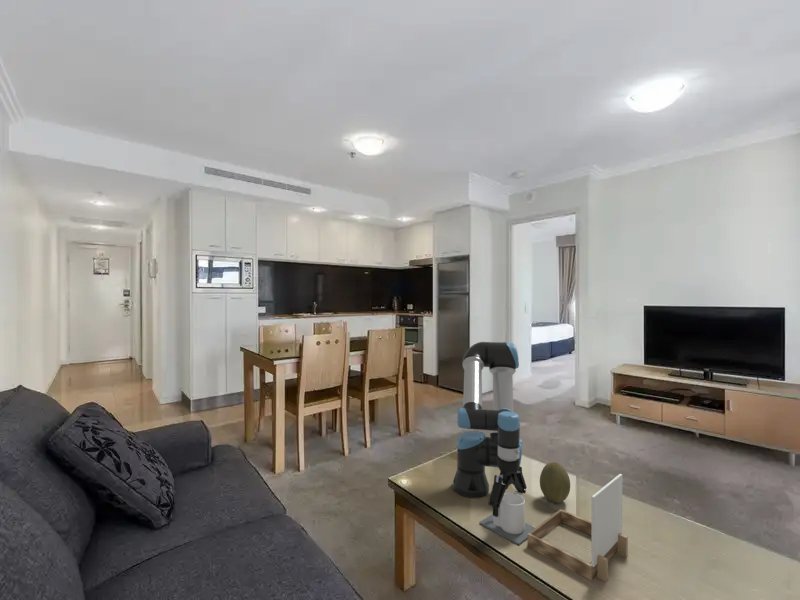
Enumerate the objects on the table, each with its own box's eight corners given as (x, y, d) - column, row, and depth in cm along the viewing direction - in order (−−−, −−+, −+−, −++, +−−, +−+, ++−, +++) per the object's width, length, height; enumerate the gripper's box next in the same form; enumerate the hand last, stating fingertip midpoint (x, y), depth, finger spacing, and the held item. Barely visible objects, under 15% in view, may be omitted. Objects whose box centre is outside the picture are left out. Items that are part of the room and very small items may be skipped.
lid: (591, 579, 110) (591, 496, 110) (619, 547, 124) (620, 473, 124) (602, 585, 107) (603, 500, 107) (630, 552, 122) (630, 476, 122)
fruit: (555, 491, 160) (555, 455, 160) (576, 504, 150) (576, 466, 150) (533, 496, 156) (533, 459, 156) (553, 510, 146) (553, 471, 146)
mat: (479, 523, 137) (479, 522, 137) (498, 511, 145) (498, 510, 145) (519, 545, 125) (519, 543, 125) (537, 530, 133) (537, 529, 133)
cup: (516, 538, 128) (516, 507, 128) (486, 522, 137) (486, 494, 137) (529, 528, 133) (529, 499, 133) (499, 514, 142) (499, 486, 142)
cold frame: (527, 546, 124) (527, 534, 124) (560, 520, 139) (560, 509, 139) (590, 580, 109) (590, 566, 109) (620, 546, 124) (620, 534, 124)
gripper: (496, 471, 124) (496, 536, 124) (536, 451, 140) (536, 509, 140) (478, 463, 129) (477, 526, 129) (518, 445, 146) (518, 500, 146)
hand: (508, 517), depth 135 cm, fingers open, 13 cm apart
